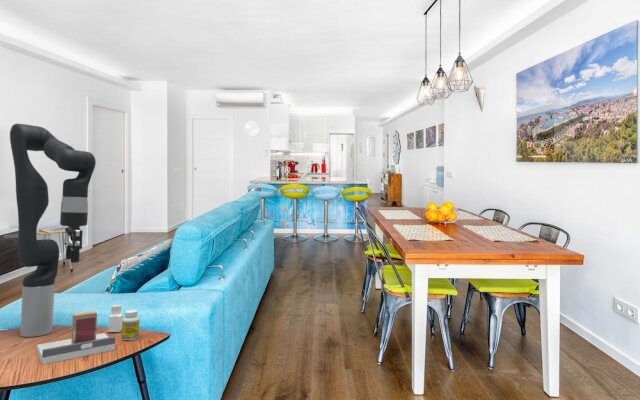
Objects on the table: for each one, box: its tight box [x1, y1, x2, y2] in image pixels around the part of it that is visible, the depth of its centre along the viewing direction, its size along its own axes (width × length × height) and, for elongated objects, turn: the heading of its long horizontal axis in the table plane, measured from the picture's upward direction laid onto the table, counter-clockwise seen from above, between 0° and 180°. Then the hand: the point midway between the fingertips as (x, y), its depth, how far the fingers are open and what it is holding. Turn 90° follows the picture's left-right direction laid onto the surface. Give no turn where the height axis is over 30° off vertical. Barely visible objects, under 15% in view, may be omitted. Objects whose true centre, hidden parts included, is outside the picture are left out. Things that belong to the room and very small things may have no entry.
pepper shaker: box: [107, 304, 124, 333], centre depth 140 cm, size 4×4×10 cm
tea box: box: [70, 310, 98, 344], centre depth 121 cm, size 4×6×10 cm
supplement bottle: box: [121, 309, 140, 341], centre depth 134 cm, size 5×5×10 cm
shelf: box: [36, 332, 116, 365], centre depth 121 cm, size 13×19×4 cm
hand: (72, 260), depth 124 cm, fingers open, 8 cm apart
